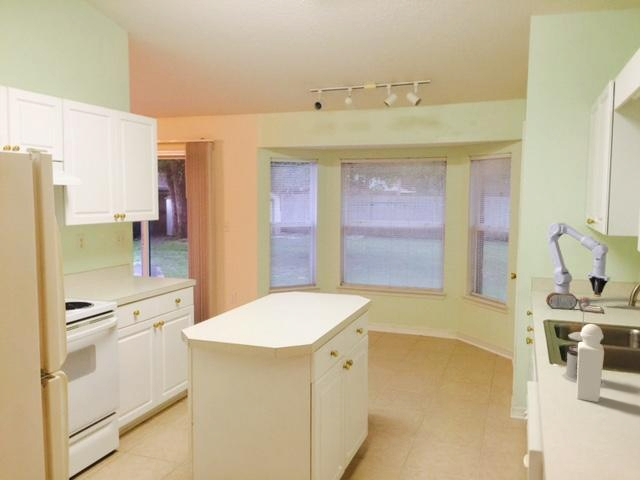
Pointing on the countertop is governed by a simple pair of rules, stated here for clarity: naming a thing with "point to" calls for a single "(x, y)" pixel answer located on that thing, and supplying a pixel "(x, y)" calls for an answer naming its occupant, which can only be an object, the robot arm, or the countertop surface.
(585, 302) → the button base
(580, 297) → the button
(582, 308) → the drawing board
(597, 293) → the cylinder
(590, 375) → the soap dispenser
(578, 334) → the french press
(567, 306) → the tin
